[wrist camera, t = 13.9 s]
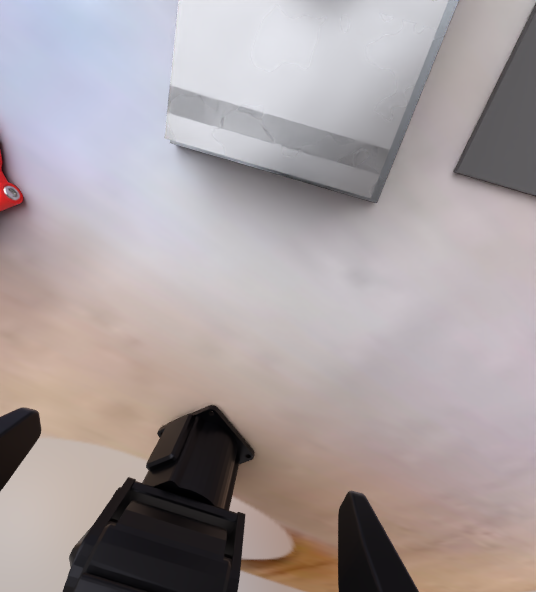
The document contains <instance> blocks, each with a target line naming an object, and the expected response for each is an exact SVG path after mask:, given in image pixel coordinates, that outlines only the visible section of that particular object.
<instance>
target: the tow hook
mask: <svg viewBox="0 0 536 592" xmlns="http://www.w3.org/2000/svg"><path fill="white" fill-rule="evenodd" d="M1 170H2V157H1V151H0V211H2V210H5V209H7V208H10V207H12V206H15V205H17V204H20V203H21V202H22V201H23V195H22V193H21V191H20V190H19V189H18V188H17V187H16V186H15V185H13V184H12V183H9V182H8V181H7V180H6V178H5V176H4V174H3V172H2V171H1Z"/></svg>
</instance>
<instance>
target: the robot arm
mask: <svg viewBox="0 0 536 592" xmlns="http://www.w3.org/2000/svg"><path fill="white" fill-rule="evenodd" d="M211 411H213V412H211ZM40 434H41V424H40V417H39V413H38V411H36V410H33V409H29V408H19V409H17V410H15V411H12V412H10V413H8V414H6V415H3V416H1V417H0V491H1V489H3V487H4V486H5V484H6V483H7V482H8V480H9V479H10V478H11V476H12V475H13V473H14V472H15V471H16V469H17V468H18V466H19V465H20V463H21V462H22V461H23V459H24V458H25V457H26V455H27V454H28V453H29V451H30V450H31V448H32V447H33V446H34V444H35V442H36V441H37V440H38V438H39V436H40ZM157 434H158V436H159V437H160V439H159V441H158V443H157V445H156V447H155V448H154V450H153V452H152V454H151V456H150V458H149V460H148V462H147V465H146V468H147V469H148V470H149V471H148V473H147V475H146V477H145V479H144V481H143V483H140V482H137V481H136V480H135V479H133V478H129V477H128V478H127V480H126V481H125V483H124V484H123V486H122V487H121V488H118V490H116V492H115V494H114V495H113V497H112V499H111V500H110V502H109V503H108V504H107V506H106V507H105V509H104V510H103V512H102V513H101V515H100V516H99V517H98V519H97V520H96V522H95V523H94V525H93V526H92V527H91V528H90V529H89V530H88V531H87V533H86V534H85V535H84V536H83V537H82V538H81V539H80V541H79V542H78V543H77V544H76V545H75V547H74V548H73V550H72V552H71V554H70V556H69V560H70V566H71V569H70V571H69V574H68V578H67V581H66V583H65V586H64V589H63V592H237V590H238V583H239V577H240V567H241V556H242V544H243V534H244V523H245V514H243V513H240V512H238V513H235V512H232V511H229V507H230V502H231V499H232V494H233V489H234V485H235V480H236V476H237V471H238V466H239V464H241V463H244V462H247V461H249V460H252V459H253V458H254V451H253V449H252V448H251V447H250V446H249V445H248V443H247V442H246V441H245V440H244V439H243V438H242V436H241V435H240V434H239V433H238V432H237V430H236V429H235V428H234V427H233V426H232V424H231V423H230V422H229V421H228V420H227V419H226V417H225V416H224V415H223V414H222V413H221V411H220V410H219V409H218V408H217V407H216V406H213V405H211V406H208V407H205V408H203V409H201V410H199V411H196V412H194V413H192V414H187V415H185V416H183V417H181V418H178V419H176V420H174V421H172V422H169V423H168V424H167V425H165V426H163V427H161V428H160V429H159V431H158V433H157ZM338 585H339V592H419V591H418V589H417V587H416V586H415V584H414V582H413V580H412V578H411V577H410V575H409V573H408V571H407V569H406V568H405V566H404V564H403V562H402V561H401V559H400V557H399V555H398V553H397V552H396V550H395V548H394V546H393V544H392V543H391V541H390V539H389V537H388V536H387V534H386V532H385V530H384V528H383V527H382V525H381V523H380V521H379V519H378V518H377V516H376V514H375V512H374V511H373V509H372V507H371V505H370V503H369V502H368V500H367V498H366V497H365V495H363V494H362V493H358V492H354V491H349V492H348V493H347V495H346V497H345V499H344V501H343V502H342V504H341V506H340V509H339V515H338Z"/></svg>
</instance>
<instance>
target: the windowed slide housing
mask: <svg viewBox="0 0 536 592" xmlns="http://www.w3.org/2000/svg"><path fill="white" fill-rule="evenodd" d="M458 1H459V0H178V10H177V20H176V30H175V40H174V50H173V59H172V69H171V79H170V89H169V99H168V108H167V118H166V128H165V139H169V140H170V143H172V144H175V145H179V146H182V147H186V148H189V149H192V150H196V151H199V152H203V153H206V154H210V155H213V156H216V157H220V158H223V159H227V160H230V161H234V162H237V163H240V164H244V165H247V166H251V167H254V168H258V169H261V170H264V171H268V172H271V173H275V174H278V175H282V176H285V177H288V178H292V179H295V180H299V181H302V182H306V183H309V184H312V185H316V186H319V187H323V188H326V189H330V190H333V191H336V192H340V193H343V194H347V195H350V196H354V197H357V198H361V199H364V200H367V201H371V202H374V203H377V201H378V199H379V196H380V194H381V191H382V189H383V187H384V184H385V182H386V179H387V177H388V174H389V172H390V169H391V167H392V164H393V162H394V159H395V157H396V154H397V152H398V149H399V147H400V145H401V142H402V140H403V137H404V135H405V132H406V130H407V127H408V125H409V122H410V120H411V117H412V115H413V112H414V110H415V107H416V105H417V103H418V100H419V98H420V95H421V93H422V90H423V88H424V85H425V83H426V80H427V78H428V75H429V73H430V70H431V68H432V65H433V63H434V61H435V58H436V56H437V53H438V51H439V48H440V46H441V43H442V41H443V38H444V36H445V33H446V31H447V28H448V26H449V23H450V21H451V19H452V16H453V14H454V11H455V9H456V6H457V4H458Z"/></svg>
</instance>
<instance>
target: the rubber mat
mask: <svg viewBox="0 0 536 592" xmlns="http://www.w3.org/2000/svg"><path fill="white" fill-rule="evenodd" d="M454 172H455V173H459V174H462V175H466V176H469V177H472V178H476V179H479V180H483V181H486V182H489V183H493V184H496V185H500V186H503V187H507V188H510V189H513V190H517V191H520V192H524V193H527V194H530V195H534V196H536V5H535V7H534V9H533V11H532V13H531V15H530V17H529V19H528V21H527V23H526V25H525V27H524V29H523V31H522V33H521V35H520V37H519V39H518V41H517V43H516V45H515V47H514V49H513V51H512V54H511V56H510V58H509V60H508V62H507V64H506V66H505V68H504V70H503V72H502V74H501V76H500V78H499V80H498V82H497V84H496V86H495V88H494V90H493V92H492V94H491V96H490V98H489V100H488V103H487V105H486V107H485V109H484V111H483V113H482V115H481V117H480V119H479V121H478V123H477V125H476V127H475V129H474V131H473V133H472V135H471V137H470V139H469V141H468V143H467V145H466V147H465V150H464V152H463V154H462V156H461V158H460V160H459V162H458V164H457V166H456V168H455V170H454Z"/></svg>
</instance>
